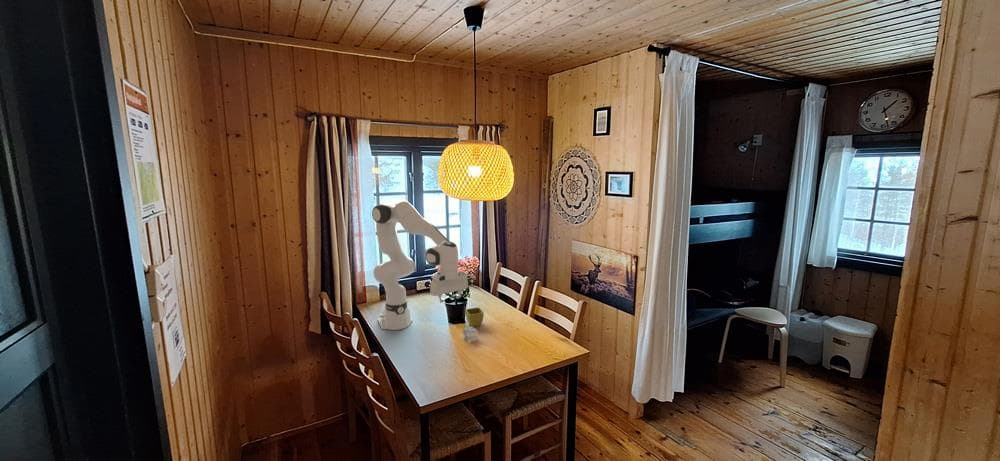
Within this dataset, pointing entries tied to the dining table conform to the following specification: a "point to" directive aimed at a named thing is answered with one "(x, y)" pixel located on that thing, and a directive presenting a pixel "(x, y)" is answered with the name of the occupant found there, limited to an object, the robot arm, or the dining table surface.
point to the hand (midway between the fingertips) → (450, 300)
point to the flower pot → (474, 316)
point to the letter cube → (470, 334)
